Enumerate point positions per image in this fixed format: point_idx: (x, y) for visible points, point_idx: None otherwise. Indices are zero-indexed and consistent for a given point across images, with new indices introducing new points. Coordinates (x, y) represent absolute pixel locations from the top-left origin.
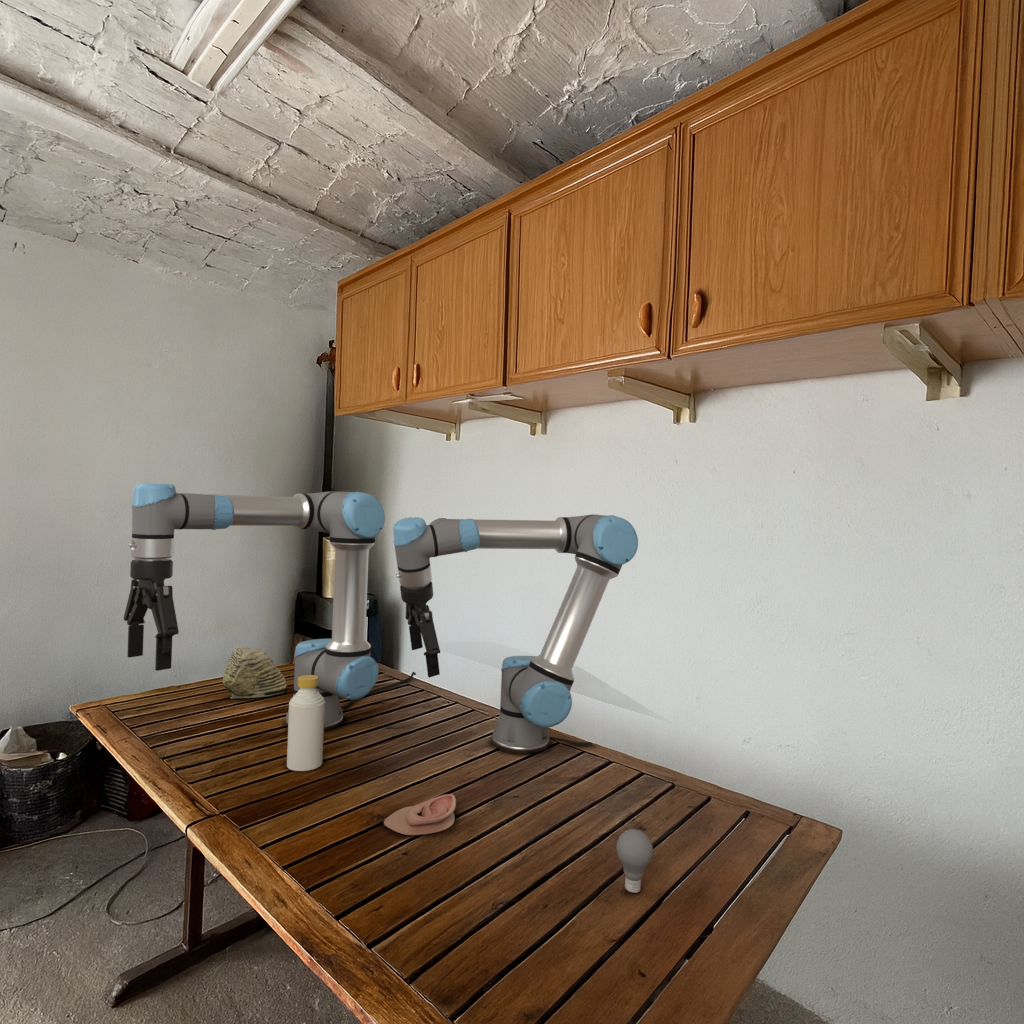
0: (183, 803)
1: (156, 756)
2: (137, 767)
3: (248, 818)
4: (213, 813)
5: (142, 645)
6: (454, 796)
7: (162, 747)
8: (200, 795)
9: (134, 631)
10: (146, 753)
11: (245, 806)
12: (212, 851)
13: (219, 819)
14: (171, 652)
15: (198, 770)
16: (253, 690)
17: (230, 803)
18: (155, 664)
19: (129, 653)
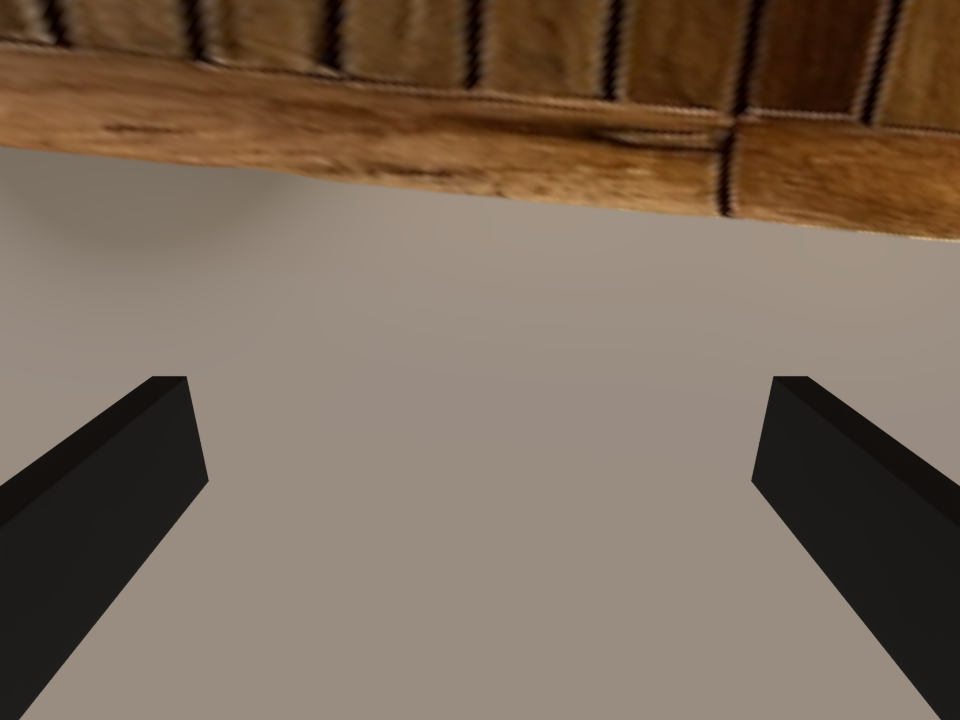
0: (593, 166)
1: (165, 68)
2: (232, 159)
3: (835, 69)
4: (720, 132)
5: (128, 428)
6: None
7: (81, 9)
8: (582, 102)
9: (25, 644)
10: (115, 83)
11: (764, 32)
12: (890, 232)
13: (766, 137)
14: (912, 455)
15: (390, 8)
16: None
17: (707, 58)
18: (778, 510)
19: (188, 498)
